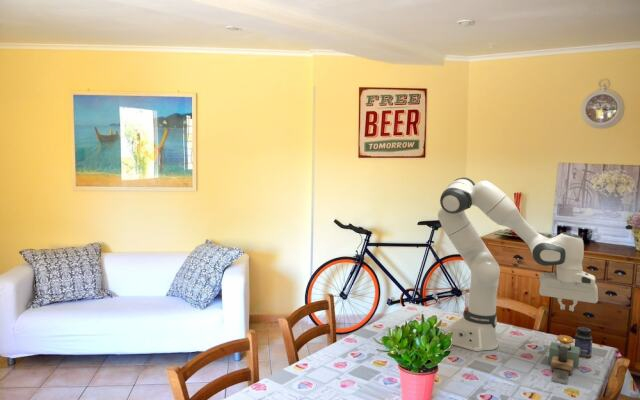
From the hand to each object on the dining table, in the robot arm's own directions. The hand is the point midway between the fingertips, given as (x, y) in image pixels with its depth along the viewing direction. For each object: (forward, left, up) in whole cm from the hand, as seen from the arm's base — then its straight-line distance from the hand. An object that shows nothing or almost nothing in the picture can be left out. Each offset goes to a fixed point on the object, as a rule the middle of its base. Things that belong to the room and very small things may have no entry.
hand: (566, 310), depth 186 cm
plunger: (0, 0, -17) cm, 17 cm away
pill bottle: (+6, +11, -21) cm, 25 cm away
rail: (0, -12, -21) cm, 24 cm away
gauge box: (0, 0, -21) cm, 21 cm away
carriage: (0, -8, -21) cm, 23 cm away
